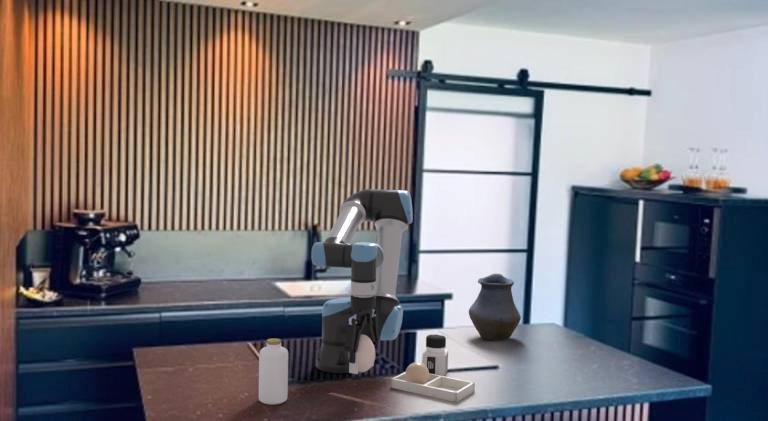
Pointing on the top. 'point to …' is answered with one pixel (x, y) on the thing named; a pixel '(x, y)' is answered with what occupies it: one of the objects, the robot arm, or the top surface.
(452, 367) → the top surface
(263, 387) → the white bottle
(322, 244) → the robot arm
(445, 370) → the container
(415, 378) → the beige ball
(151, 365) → the top surface
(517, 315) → the dark clay urn
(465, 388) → the tray
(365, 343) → the egg
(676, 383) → the top surface
